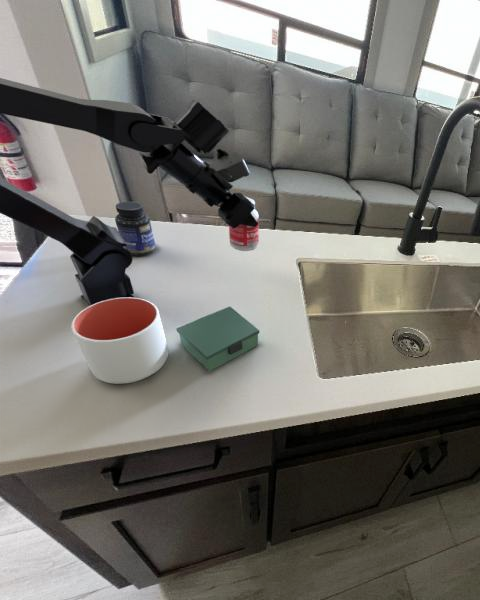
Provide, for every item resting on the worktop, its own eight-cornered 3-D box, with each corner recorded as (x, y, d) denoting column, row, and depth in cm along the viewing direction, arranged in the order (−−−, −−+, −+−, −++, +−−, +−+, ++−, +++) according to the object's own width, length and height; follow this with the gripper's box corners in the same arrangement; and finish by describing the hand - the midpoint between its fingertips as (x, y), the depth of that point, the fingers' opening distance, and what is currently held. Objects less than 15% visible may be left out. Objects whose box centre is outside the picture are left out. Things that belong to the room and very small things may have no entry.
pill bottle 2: (249, 254, 75) (249, 209, 68) (224, 246, 75) (221, 200, 68) (263, 244, 80) (264, 200, 74) (239, 236, 80) (237, 192, 74)
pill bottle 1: (151, 257, 76) (140, 213, 70) (119, 255, 74) (105, 209, 68) (159, 244, 81) (150, 202, 74) (130, 242, 79) (118, 198, 72)
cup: (85, 393, 48) (60, 346, 43) (100, 345, 55) (81, 298, 50) (166, 381, 53) (154, 337, 47) (172, 338, 60) (162, 295, 54)
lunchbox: (210, 374, 56) (207, 358, 54) (178, 343, 59) (174, 327, 57) (261, 346, 63) (260, 331, 61) (230, 320, 67) (229, 305, 64)
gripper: (243, 156, 57) (296, 210, 71) (200, 124, 66) (254, 178, 79) (198, 203, 56) (260, 248, 70) (160, 164, 65) (222, 211, 79)
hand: (249, 219), depth 74 cm, fingers closed on pill bottle 2, 6 cm apart
